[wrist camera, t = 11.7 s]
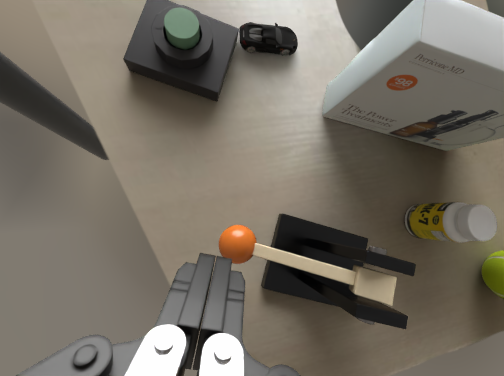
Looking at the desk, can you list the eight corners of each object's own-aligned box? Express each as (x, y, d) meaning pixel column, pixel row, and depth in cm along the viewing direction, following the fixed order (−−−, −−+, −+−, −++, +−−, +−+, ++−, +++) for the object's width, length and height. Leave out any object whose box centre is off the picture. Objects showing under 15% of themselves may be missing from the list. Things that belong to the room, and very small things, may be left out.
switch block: (129, 70, 30) (117, 48, 26) (153, 8, 31) (146, -22, 27) (217, 101, 31) (219, 85, 27) (236, 41, 33) (240, 17, 29)
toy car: (294, 34, 34) (300, 23, 32) (296, 57, 34) (302, 47, 32) (238, 29, 33) (240, 16, 31) (239, 53, 32) (241, 41, 30)
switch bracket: (260, 285, 30) (301, 336, 17) (279, 213, 31) (329, 211, 19) (348, 306, 31) (444, 366, 19) (362, 237, 33) (458, 250, 20)
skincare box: (320, 121, 34) (418, 39, 18) (325, 84, 34) (424, -23, 19) (447, 155, 37) (623, 111, 22) (450, 121, 38) (620, 56, 22)
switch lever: (220, 256, 25) (208, 258, 22) (230, 222, 26) (219, 219, 22) (378, 305, 22) (393, 317, 18) (385, 265, 22) (401, 269, 19)
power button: (161, 42, 27) (159, 30, 25) (172, 15, 28) (170, 2, 26) (193, 54, 28) (193, 43, 26) (203, 27, 28) (203, 15, 26)
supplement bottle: (412, 197, 35) (476, 191, 27) (437, 217, 35) (507, 217, 27) (397, 225, 34) (458, 227, 26) (422, 244, 34) (490, 253, 26)
